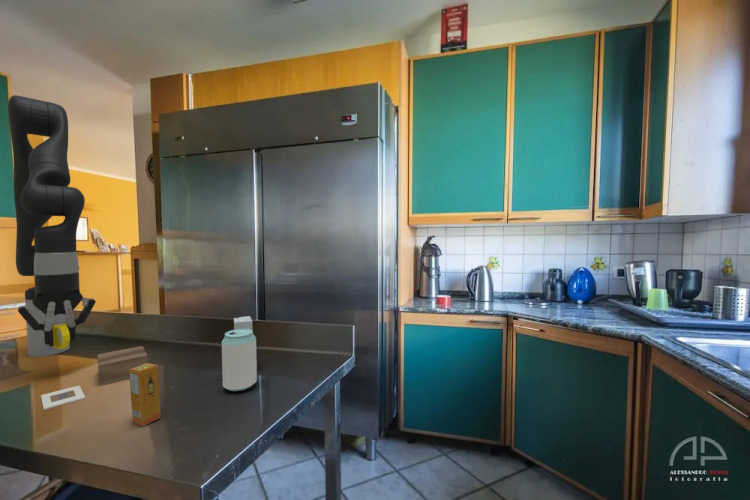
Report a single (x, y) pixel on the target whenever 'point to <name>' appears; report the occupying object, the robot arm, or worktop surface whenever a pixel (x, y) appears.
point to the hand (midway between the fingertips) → (60, 343)
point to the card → (62, 397)
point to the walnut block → (119, 364)
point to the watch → (64, 333)
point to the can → (239, 359)
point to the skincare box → (243, 323)
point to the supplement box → (144, 394)
